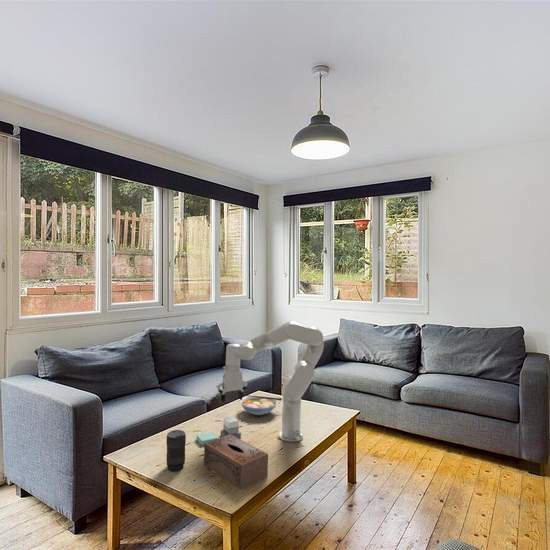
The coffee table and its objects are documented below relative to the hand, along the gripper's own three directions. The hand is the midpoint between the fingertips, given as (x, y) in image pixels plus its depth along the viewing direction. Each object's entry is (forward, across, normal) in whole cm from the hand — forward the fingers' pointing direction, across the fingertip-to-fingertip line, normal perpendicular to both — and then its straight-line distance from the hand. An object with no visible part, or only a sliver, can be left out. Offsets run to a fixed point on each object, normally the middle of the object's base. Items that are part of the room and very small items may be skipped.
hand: (231, 400), depth 202 cm
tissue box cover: (+19, -12, -33) cm, 40 cm away
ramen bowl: (+19, +27, +22) cm, 40 cm away
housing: (+16, 0, -1) cm, 16 cm away
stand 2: (+19, 0, -1) cm, 19 cm away
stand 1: (+19, -13, -1) cm, 23 cm away
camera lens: (+19, -34, -20) cm, 44 cm away
